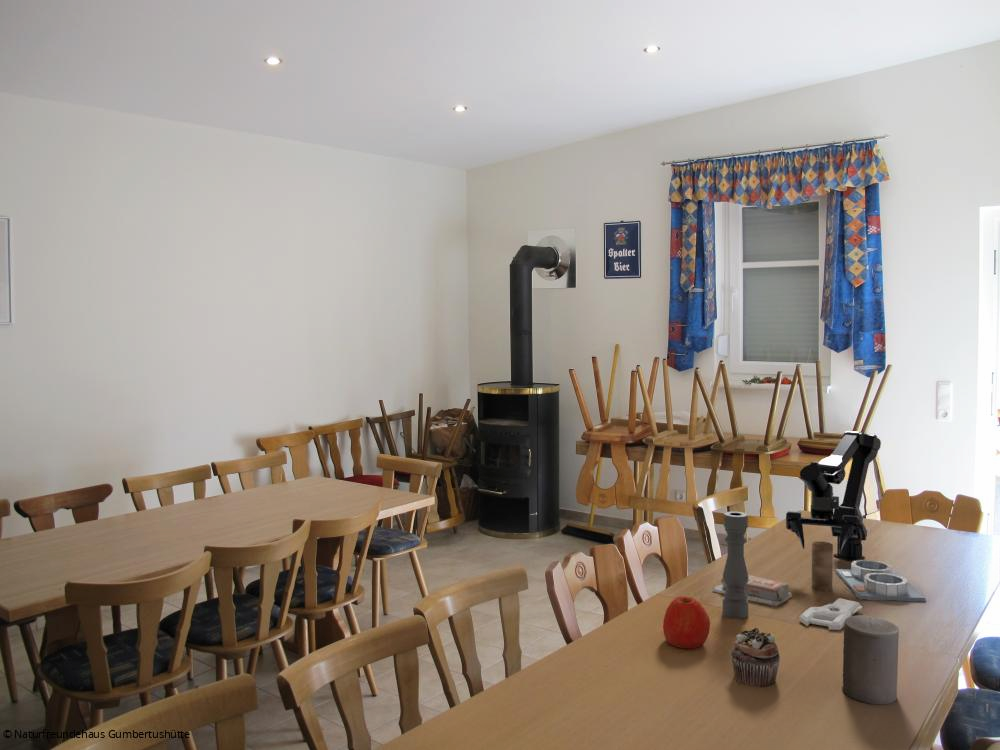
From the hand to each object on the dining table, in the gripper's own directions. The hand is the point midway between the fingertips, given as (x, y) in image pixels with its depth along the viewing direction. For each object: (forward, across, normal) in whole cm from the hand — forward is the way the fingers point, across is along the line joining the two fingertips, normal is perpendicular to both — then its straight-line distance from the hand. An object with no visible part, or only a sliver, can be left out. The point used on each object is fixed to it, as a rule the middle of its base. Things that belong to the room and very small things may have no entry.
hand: (821, 549), depth 220 cm
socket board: (+4, +14, +9) cm, 18 cm away
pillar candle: (+54, +9, -39) cm, 67 cm away
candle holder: (+29, -20, -14) cm, 38 cm away
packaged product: (+17, -17, -2) cm, 24 cm away
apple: (+45, -28, -30) cm, 61 cm away
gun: (+26, +2, -11) cm, 28 cm away
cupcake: (+54, -13, -40) cm, 69 cm away
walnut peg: (+9, 0, +5) cm, 10 cm away
